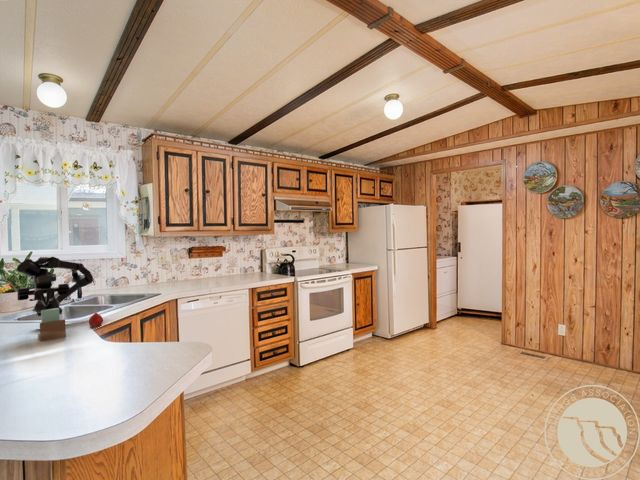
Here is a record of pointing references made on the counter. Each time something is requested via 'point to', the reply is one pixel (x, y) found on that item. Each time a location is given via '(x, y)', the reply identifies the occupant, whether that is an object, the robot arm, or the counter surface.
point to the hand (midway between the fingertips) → (46, 306)
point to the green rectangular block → (50, 315)
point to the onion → (95, 320)
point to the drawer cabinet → (52, 330)
